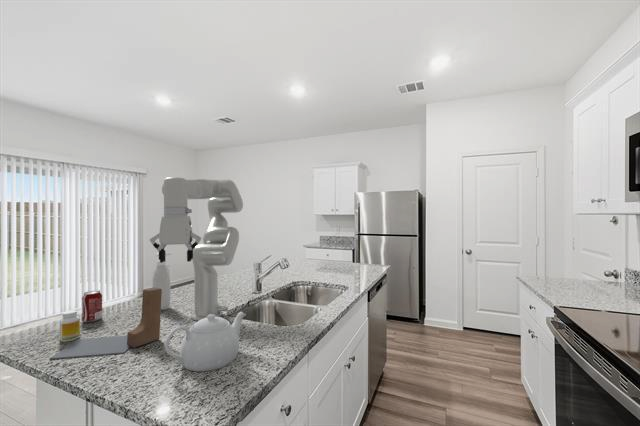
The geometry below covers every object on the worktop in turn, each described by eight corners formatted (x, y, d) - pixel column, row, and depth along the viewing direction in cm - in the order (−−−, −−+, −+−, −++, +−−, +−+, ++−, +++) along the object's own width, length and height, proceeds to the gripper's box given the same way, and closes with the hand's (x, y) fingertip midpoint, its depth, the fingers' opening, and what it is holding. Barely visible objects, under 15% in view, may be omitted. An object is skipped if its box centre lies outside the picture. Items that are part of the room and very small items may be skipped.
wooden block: (134, 348, 96) (136, 293, 97) (126, 345, 98) (129, 291, 99) (159, 339, 104) (162, 288, 105) (152, 336, 106) (154, 287, 107)
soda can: (106, 318, 126) (105, 290, 126) (89, 324, 119) (89, 294, 119) (95, 316, 128) (95, 289, 128) (78, 322, 122) (77, 293, 122)
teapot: (194, 345, 99) (193, 305, 99) (247, 345, 99) (247, 305, 99) (162, 376, 81) (162, 327, 81) (228, 376, 80) (227, 327, 80)
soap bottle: (178, 308, 138) (177, 251, 138) (159, 313, 132) (159, 253, 132) (166, 302, 147) (165, 249, 147) (148, 306, 141) (148, 251, 141)
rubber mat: (142, 335, 108) (142, 334, 108) (124, 353, 94) (124, 352, 94) (79, 340, 104) (79, 339, 104) (49, 359, 90) (49, 358, 90)
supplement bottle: (82, 337, 107) (82, 310, 107) (65, 343, 102) (64, 315, 102) (74, 334, 109) (74, 308, 109) (57, 340, 104) (56, 313, 104)
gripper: (204, 212, 108) (204, 259, 108) (153, 212, 106) (153, 260, 105) (199, 212, 101) (199, 262, 101) (144, 212, 98) (145, 264, 98)
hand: (176, 261), depth 103 cm, fingers open, 8 cm apart
